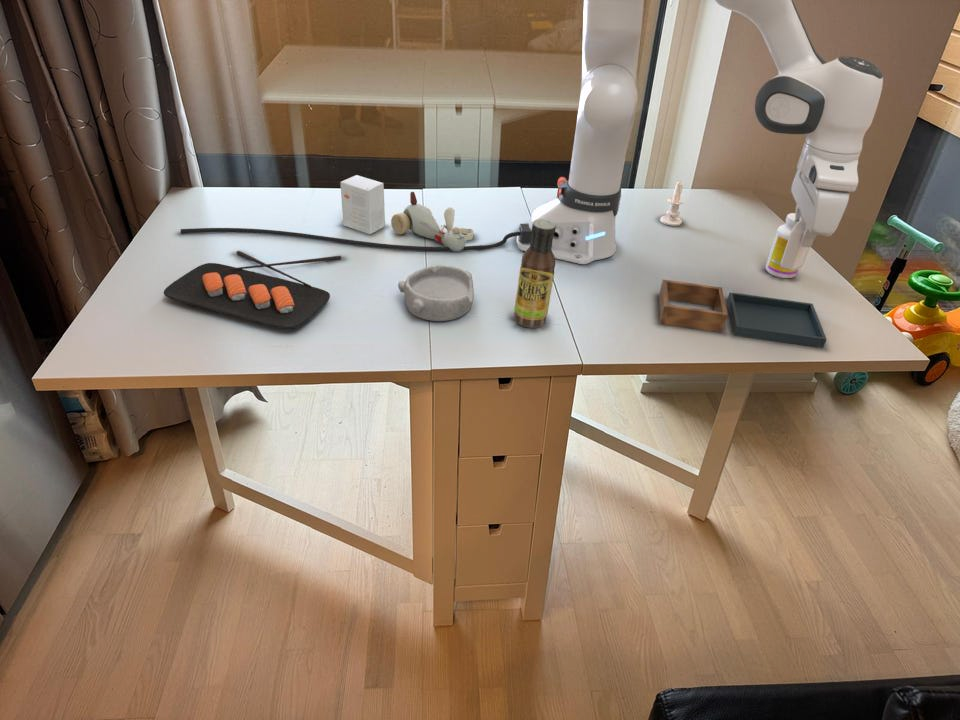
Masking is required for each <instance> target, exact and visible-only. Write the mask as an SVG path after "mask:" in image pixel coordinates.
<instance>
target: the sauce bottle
mask: <svg viewBox="0 0 960 720" xmlns="http://www.w3.org/2000/svg"><path fill="white" fill-rule="evenodd" d="M555 229H556V225H555V223H554V222H552V221H550V220H546V219H538V220H535V221H534V222H533V225H532V238H531V243H530V247H529V248H528V249H527V250H526V251H524V253H523V255H522V256H521V262H520V263H521V264H520V268H519V272H518V274H519V275H518V281H517V289H516V295H515V303H514V314H513V319H514V321H515V322H516V323H517V324H518V325H521V326H522V327H525V328H535V329H536V328H540V327H542V326H543V325H545V323H546V321H547V316H548V312H549V307H550V300H551V295H552V289H553V282H554V279H555V278H554V277H555V268H556V258H555V257H554V254H553V252H552V241H553V235H554V233H555Z"/></svg>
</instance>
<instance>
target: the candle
mask: <svg viewBox="0 0 960 720" xmlns="http://www.w3.org/2000/svg"><path fill="white" fill-rule="evenodd" d="M682 190H683V183H682V182H681V181H677V182H676V183H675V187H674V192H673V196H672V197H669V198H667V202H668V203H669V204H670V205H669V207H668V208H669V209H667V210H666V212H665V215H661V216H660V219H659V220H660V222H661V223H662V224H664V225H666V226H669V227H679V226H680V225H682V223H683V220H682V218H680V217H679V216H680V211H679V209H680V206H681V205H683V204H684V200H683V199H681V197H682V196H681V195H682Z"/></svg>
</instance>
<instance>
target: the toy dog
mask: <svg viewBox="0 0 960 720" xmlns="http://www.w3.org/2000/svg"><path fill="white" fill-rule="evenodd" d="M409 195H410V196H409V197H410V199H409V200H410V201H409V202H410V204H409V205H407V207H405V208H404V210H403V212H398V213H395V214H393V216H391V220H390V224H391V228H392V230H393V231H394V232H395V233H396V234H398V235H404V234H407V233H408V232H409V231H411V232H413V233H414V234H416V235H419V236H421V237H423V238H428V239H431V240H435V241H436V242H437V243H439V244H442V245H443V246H444V247H449V248H450V249H451V250H453V251H452V252H461V251H460V250H462V249H463V248H464V247H465V246H466V245H467V244H466V243H467V241H472V240H473V239H474V235H475V234H474V229H473V228H469V227H457V226H454V222H455V209H454V208H453V207H447V208H446V209H445V210H444V212H443V216H444V222H445V224H441V228H440V226H439V224H438V222H437V220H436V219H435V217H434V215H433V213H432V211H431V209H430V208H429V207H427V206H424V205H422V204H421V203H418V199H417V196H416V193H415V192H414V191H410V193H409ZM444 229H446V231H447V232H445V231H444Z"/></svg>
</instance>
